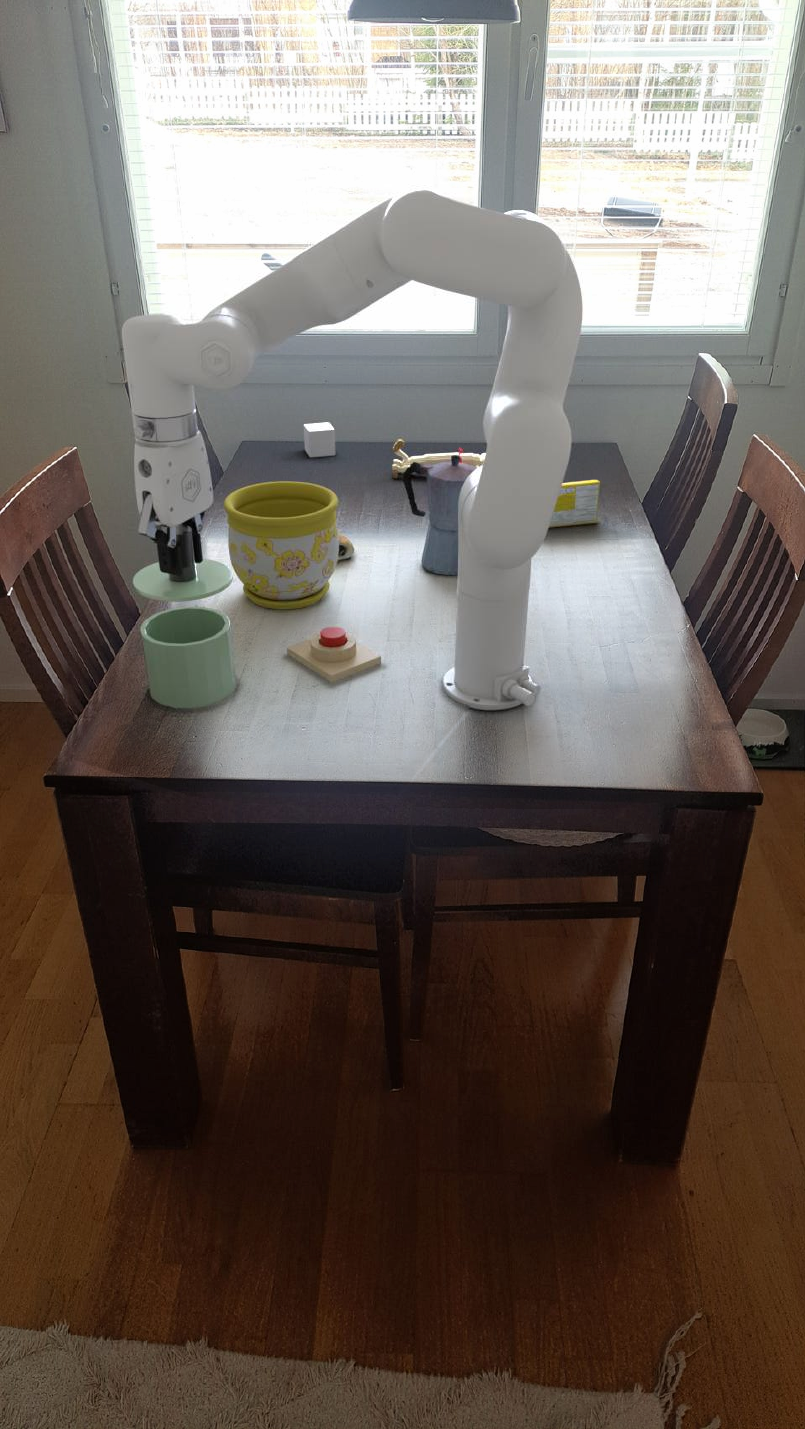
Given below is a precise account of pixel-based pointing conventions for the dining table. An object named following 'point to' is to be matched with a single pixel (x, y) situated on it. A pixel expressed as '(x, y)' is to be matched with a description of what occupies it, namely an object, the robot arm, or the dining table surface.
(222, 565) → the lid
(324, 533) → the flowerpot
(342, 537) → the pastry
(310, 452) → the white cube
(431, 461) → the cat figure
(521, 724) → the dining table surface
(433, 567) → the moka pot
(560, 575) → the dining table surface
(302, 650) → the switch block
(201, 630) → the mint green cup
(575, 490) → the candy box
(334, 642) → the button
